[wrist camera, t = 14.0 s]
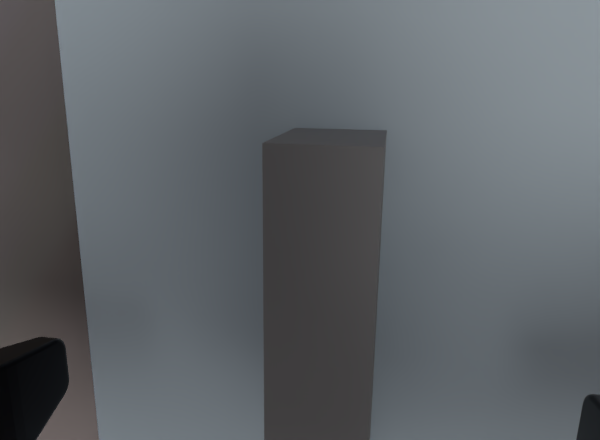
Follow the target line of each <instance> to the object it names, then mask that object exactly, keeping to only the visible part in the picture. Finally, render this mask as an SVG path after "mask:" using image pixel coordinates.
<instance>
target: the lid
mask: <svg viewBox="0 0 600 440" xmlns="http://www.w3.org/2000/svg"><path fill="white" fill-rule="evenodd" d="M55 8H56V18H57V28H58V38H59V48H60V58H61V68H62V78H63V87H64V97H65V107H66V117H67V127H68V137H69V147H70V157H71V167H72V176H73V186H74V196H75V206H76V216H77V226H78V236H79V246H80V256H81V265H82V275H83V285H84V295H85V305H86V315H87V325H88V335H89V345H90V354H91V364H92V374H93V384H94V394H95V404H96V414H97V424H98V434H99V440H576V438H577V432H578V427H579V421H580V416H581V410H582V405H583V401H584V399H585V397H586V396H587V395H589V394H598V395H600V0H55Z"/></svg>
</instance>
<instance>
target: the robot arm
mask: <svg viewBox="0 0 600 440" xmlns="http://www.w3.org/2000/svg"><path fill="white" fill-rule="evenodd" d="M68 383H69V375H68V366H67V357H66V348H65V345H64V342H63V341H62V340H60V339H57V338H48V337H38V338H34V339H31V340H27V341H24V342H21V343H17V344H14V345H10V346H7V347H4V348H0V440H36V439H37V438H38V436H39V434H40V433H41V431H42V430H43V428H44V426H45V425H46V423H47V422H48V420H49V418H50V417H51V415H52V414H53V412H54V410H55V409H56V407H57V406H58V404H59V402H60V401H61V399H62V398H63V396H64V394H65V393H66V390H67V388H68ZM576 440H600V395H598V394H589V395H587V396H586V397H585V399H584V401H583V405H582V410H581V416H580V421H579V427H578V432H577V438H576Z"/></svg>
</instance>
